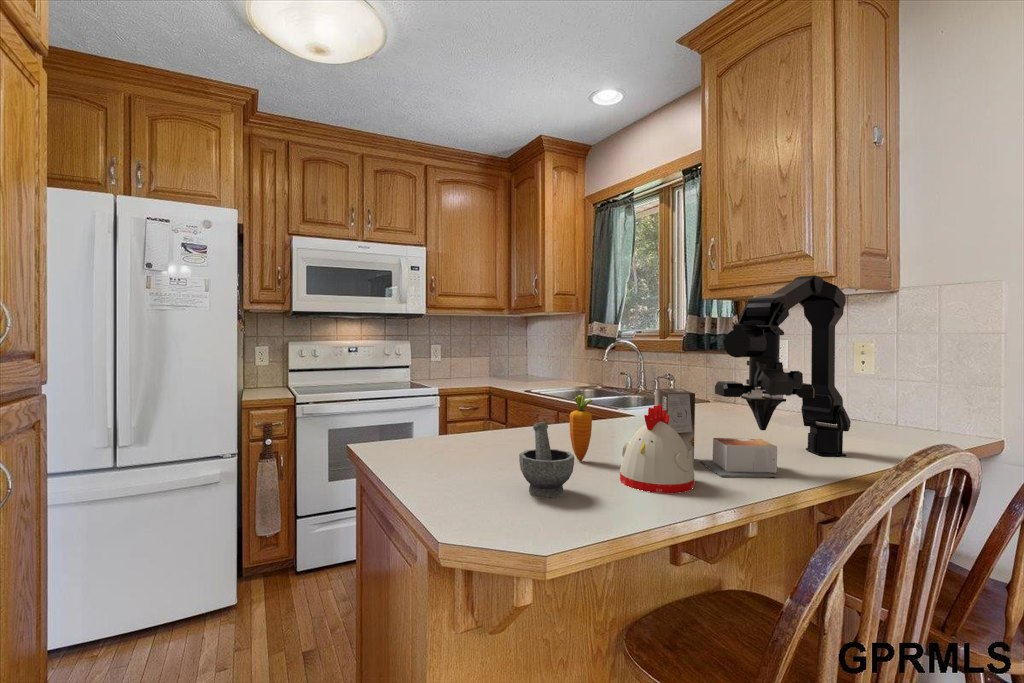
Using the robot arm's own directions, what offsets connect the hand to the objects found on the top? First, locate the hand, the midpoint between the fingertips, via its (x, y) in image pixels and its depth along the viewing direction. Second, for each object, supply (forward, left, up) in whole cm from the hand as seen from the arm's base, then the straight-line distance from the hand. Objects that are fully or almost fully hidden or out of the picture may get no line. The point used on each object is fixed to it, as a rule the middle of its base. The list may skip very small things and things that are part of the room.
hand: (762, 430), depth 111 cm
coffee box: (+17, -6, -9) cm, 20 cm away
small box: (-2, 0, -5) cm, 6 cm away
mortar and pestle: (+47, +17, -9) cm, 51 cm away
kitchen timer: (+25, +10, -9) cm, 28 cm away
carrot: (+38, -5, -9) cm, 39 cm away
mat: (+6, 0, -8) cm, 10 cm away
